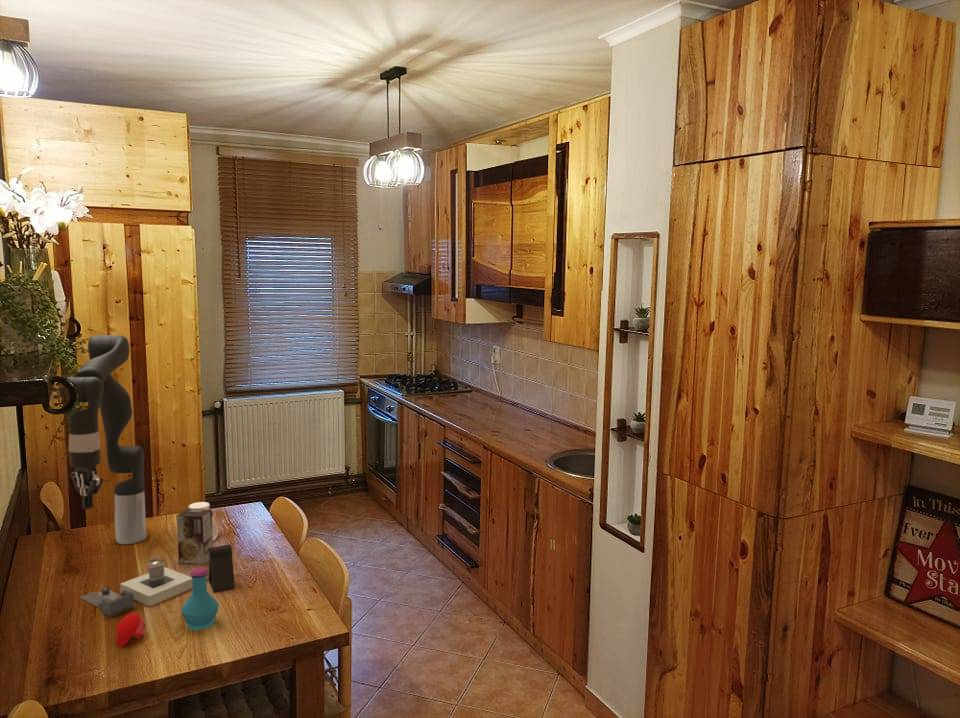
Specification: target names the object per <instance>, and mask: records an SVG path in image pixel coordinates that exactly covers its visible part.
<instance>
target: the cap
mask: <svg viewBox="0 0 960 718" xmlns="http://www.w3.org/2000/svg"><path fill="white" fill-rule="evenodd" d="M145 626H146V624H145V621H144V619H143V618H141V617H140V614H137V613H134V612H131V613H129V614H126V615H125V616H123V618H122V619H121V620H120V621H119V622H118V623H117V624H116V641H115V643H116V645H117V647H118V648H119V647H120V648H121V647H123V646H126V645H127V643H128V642H129V641H130V639H131V637H136V638H138V639H142V637H143V635H144V631H145V628H146V627H145Z"/></svg>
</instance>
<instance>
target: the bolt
mask: <svg viewBox="0 0 960 718" xmlns="http://www.w3.org/2000/svg"><path fill="white" fill-rule="evenodd" d="M96 593H97V596H98V604H100V605H102V599H103V598H107V599H109V600H111V601H112V600H114V599H117V598H120V597H122V594H121V593H120V594H119V593H117V592H114V590H110V587H109V586H104V587H102V588H101V591H100V592H96Z"/></svg>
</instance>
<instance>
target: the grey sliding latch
mask: <svg viewBox="0 0 960 718" xmlns="http://www.w3.org/2000/svg"><path fill="white" fill-rule="evenodd" d="M97 593H98V592H97V591H93V592H92V591H91V592H90V593H87V594H85V595H82V596H79V597H78V599H80V600H82V601H85V602H86V603H88V604H90V605H93V606H95V607H96V608H98V609H100V610H102V611H101V612H102V614H104V615H105V616H107V617H110V618H112V617H114V616H116V615H118V614H122V613H123V612H126V611H129V610H131V609H134V608H135V600H134V597H133V593H130V592H128V591H126V590H124V591H122V594H121V595H122V597H120V598H117V599H114V600H112V601H111V600H109V599H107V598H103V599H102V605H100V604H98V596H97Z"/></svg>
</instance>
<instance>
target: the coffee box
mask: <svg viewBox="0 0 960 718" xmlns="http://www.w3.org/2000/svg"><path fill="white" fill-rule="evenodd" d="M212 511H213V510H212V509H211V510H200V509H189V508H186V509H184V510H182V511H181V512H179V513H178V514H177V515H175V516H176V517H175V518H176V532H177V533H176V534H177V553H178V554H177V555H178V556H177V557H178V563H179V564H194V565H195V564H197V565H205V564H207V563H208V562H209V548H212V547H214V544H213V543H214V542H213V536H212Z"/></svg>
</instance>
